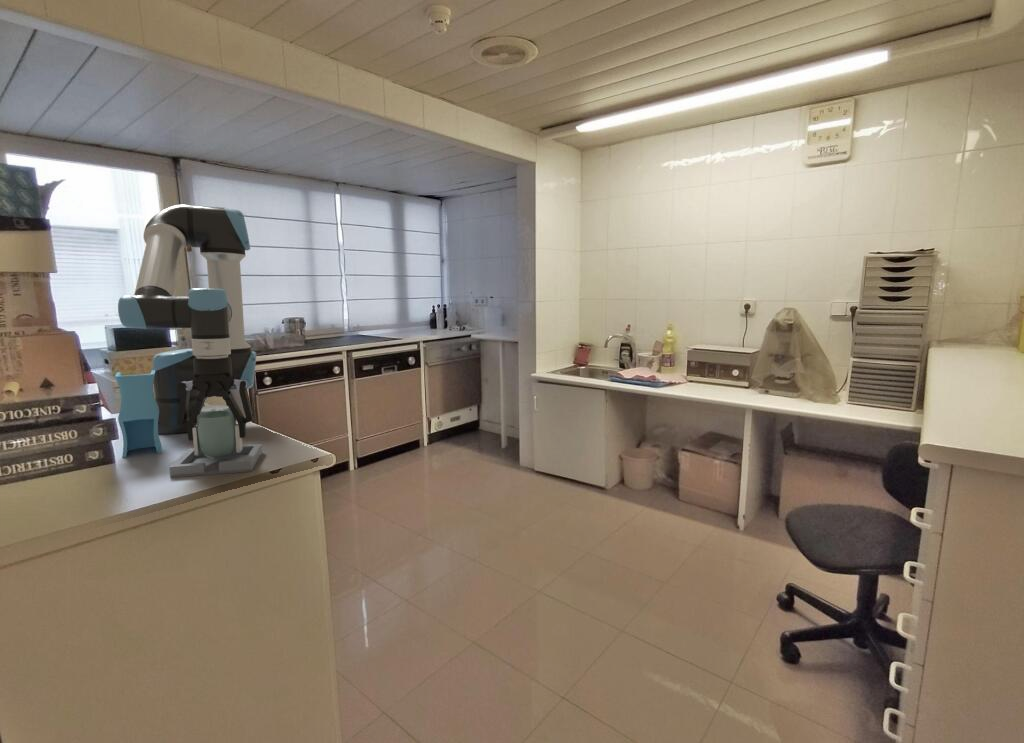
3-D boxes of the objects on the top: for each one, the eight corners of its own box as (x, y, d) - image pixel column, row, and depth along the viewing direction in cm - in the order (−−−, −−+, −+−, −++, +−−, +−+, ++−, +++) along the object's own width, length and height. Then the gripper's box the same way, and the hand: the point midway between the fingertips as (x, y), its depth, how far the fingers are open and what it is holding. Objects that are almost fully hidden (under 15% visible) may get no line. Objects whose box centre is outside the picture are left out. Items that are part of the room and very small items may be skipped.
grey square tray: (190, 457, 122) (189, 448, 121) (262, 452, 126) (261, 443, 126) (170, 477, 108) (169, 467, 108) (251, 471, 113) (250, 461, 113)
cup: (210, 462, 112) (207, 419, 110) (193, 456, 116) (189, 414, 114) (244, 454, 118) (242, 413, 117) (226, 448, 122) (224, 408, 121)
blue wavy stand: (162, 444, 132) (155, 370, 129) (161, 452, 125) (154, 374, 122) (124, 449, 127) (116, 372, 124) (122, 457, 121) (113, 376, 118)
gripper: (152, 359, 107) (161, 460, 110) (259, 357, 113) (264, 453, 117) (165, 355, 114) (173, 450, 118) (265, 353, 120) (270, 444, 124)
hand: (219, 452), depth 117 cm, fingers closed on cup, 8 cm apart
